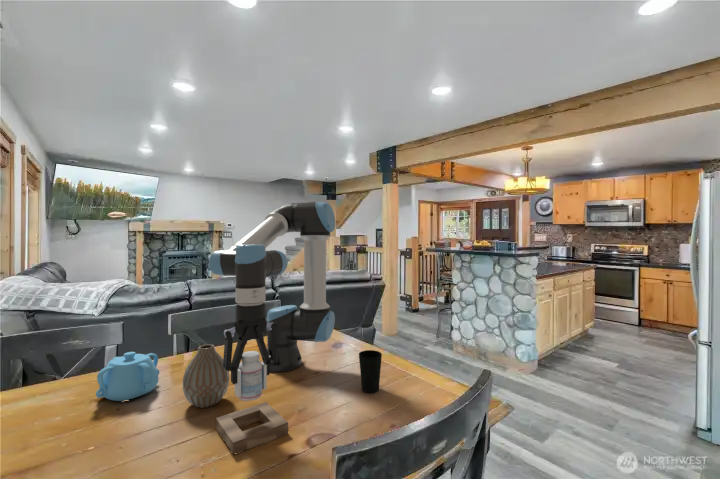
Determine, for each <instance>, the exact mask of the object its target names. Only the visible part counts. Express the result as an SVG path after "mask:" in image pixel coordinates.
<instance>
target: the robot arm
mask: <svg viewBox="0 0 720 479" xmlns="http://www.w3.org/2000/svg"><path fill="white" fill-rule="evenodd" d="M335 228H336V217H335V212H334V210H333V207H332V205H331V204H330V203H328V202H325V201H324V202H323V201H311V202H309V201H307V202H290V203H287V204H285V205H282V206H280V207H278V208H276V209H274V210H272V212H269V213H268V214H267V215H266V216H265V219H264V221H262V222H261V223H260V224H259V225H257V226H256V227H255V228H254V229H253V230H251V231H250V232H249V233H247V234H246V235H244V236H243V237H242V238H240V239H239V240H238V241H237V242H236V243H234V244H233V245H232V246H230V247H229V248H228V249H225V250H224V249H221V250H214V251H213V252H212V253H211V254H210V255H209V259H208V266H209V270H210V271H211V273H212V274H213V275H216V276H224V277H226V276H227V277H230V276H231V277H235V300H234V301H235V303H236V305H235V323H234V325H233V327H231V328H228V329H226V328H225V329H223V330H222V334H223V337H224V346H223V357H222V358H223V368H224V369H225V370H226V371H229V372H230V382H231V383H232V385H234V395H235V396H236V397H237V398H238V399H239V397H241V371H240V370H239V369H238V368H239V365H240V363H241V362H242V361H241V358H242V355H243V353H244V351H245V347H246V345H247V344H248V341H251V340H255V341H256V344H257V347H258V348H257V349H258V350H259V351H258V352H259V355H260V357H261V358H262V361H261V363H262V391H266V390H267V388H268V385H267V384H268V379H267V376H270V373H283V372H289V371H293V370H296V369H298V368H300V367H301V366H302V364H303V362H302V359H303V357H302V355H301V353H300V352H301V351H300V349H299V346H298V341H303V342H314V343H319V342H320V343H323V342H327V341H328V340H330V338H331V337H332V334H333V332H334V327H335V321H336V315H335V312H334V311H332V310H331V308H330V305H329V304H328V303H327V240H329V238H330V237H331V233H332V232H334V231H335V230H336V229H335ZM287 233H299V234H300V236H299V237H300V238H301V239H302V240H303V245H304V246H303V248H304V249H303V303H301V305H299V309H298V307H297V306H298V305H294V304H289V305H288V304H287V305H282V306H281V305H280V306H277V307H273V308H271V309H269V310H268V311H267V315H266V310H267V309H266V306H267V305H266V303H265V302H266V299H267V298H266V278H270V277H277V276H279V275H282V274H283V273H284V272H285V271H286V270H287V268H288V264H289V263H288V258H287V256H286V254H284V252H282V251H280V250H276V249H274V250H273V249H272V250H267V248H268V247H269V246H270V245H271V244H272V243H273V242H274V241H275V240H276V239H277V238H279V237H283V236H284V235H285V234H287ZM266 316H267V317H266ZM265 329H266V332H267V333H266V342H267V343H265V339H264V335H263V332H264V330H265ZM235 333H237V335H238V336H237V342H236V343H237V344H236V346H235V350H234V353H233V342H234V341H233V338H234V336H235ZM266 344H267V345H266Z"/></svg>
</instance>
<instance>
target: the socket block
mask: <svg viewBox="0 0 720 479" xmlns="http://www.w3.org/2000/svg"><path fill="white" fill-rule="evenodd" d="M259 421H260V423H262V424H259V425H257V426H254V427H251V428H248V429H245V430H242V429H241V428H243V427H245V426H249V425H251V423H252V424H254V423H257V422H259ZM248 424H249V425H248ZM239 427H240V428H239ZM216 429H217V430H218V432H219V433H220V435H221V436H222V438H223V439H224V441H225V442H226V444H227V445H228V447H229V448H230V450H231V451H232V453H233V454H235V453H238V452H241V451H244V450H246V451H248V450H247V449H249V448H251V449H253V448H252V447H254V446H256V447H258V446H257V445H259V446H261V445H264V444H266V443H268V441H269V442H271V441H273V440H276V439H278V437H279V438H281V437H283V436H287V435H288V434H289V422H288V420H286V419H285V418H284V417H283V416H282V415H281V414H280V413H279V412H278V411H277V410H276V409H274V407H273V406H272V405H271V404H269V403H268V402H267V401H264V402H262V403H259V404H255V405H252V406H248V407H246V408H243V409H240V410H236V411H233V412H230V413H226V414H224V415H221V416H218V417H215V430H216ZM217 430H216V431H217ZM218 432H217V433H218ZM219 433H218V434H219ZM220 435H219V436H220ZM221 436H220V437H221ZM222 438H221V439H222ZM223 439H222V440H223ZM224 441H223V442H224ZM225 442H224V443H225ZM263 443H264V444H263ZM226 444H225V445H226ZM260 444H261V445H260ZM227 445H226V446H227ZM228 447H227V448H228ZM229 448H228V449H229ZM254 448H255V447H254ZM230 450H229V451H230ZM249 450H250V449H249ZM231 451H230V452H231ZM244 452H245V451H244ZM232 453H231V454H232ZM241 453H242V452H241ZM233 454H232V455H233ZM238 454H239V453H238Z"/></svg>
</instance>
